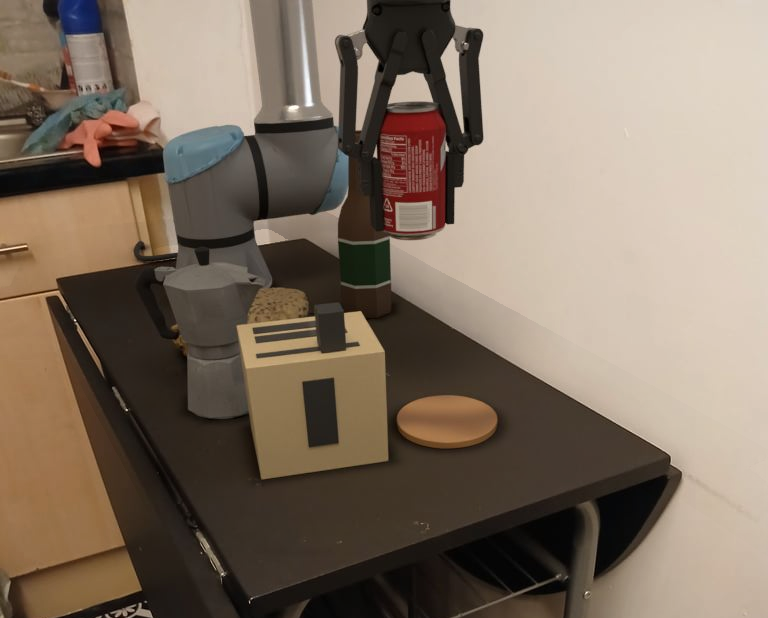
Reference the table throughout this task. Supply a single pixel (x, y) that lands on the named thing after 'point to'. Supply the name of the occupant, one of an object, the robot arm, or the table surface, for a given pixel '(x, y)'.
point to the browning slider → (330, 327)
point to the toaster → (314, 396)
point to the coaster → (447, 421)
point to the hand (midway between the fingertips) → (412, 224)
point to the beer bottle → (362, 253)
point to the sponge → (267, 309)
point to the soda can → (413, 170)
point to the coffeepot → (206, 328)
